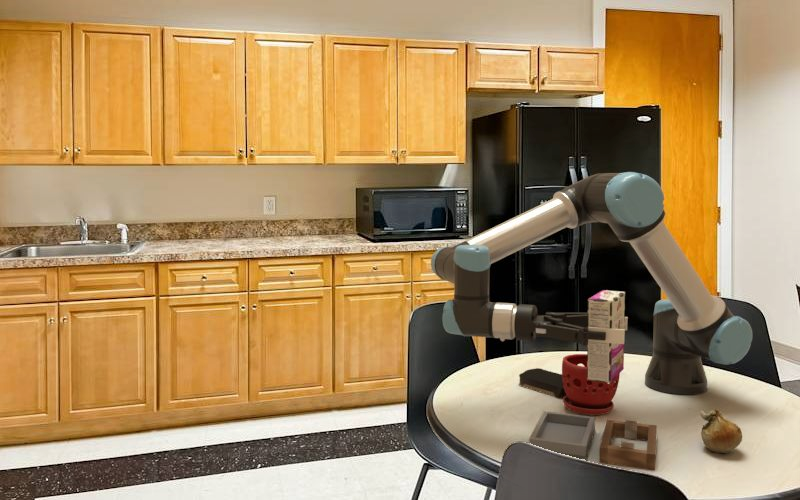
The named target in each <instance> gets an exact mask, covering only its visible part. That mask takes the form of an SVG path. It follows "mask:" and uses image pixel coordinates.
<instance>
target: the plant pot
mask: <svg viewBox="0 0 800 500" xmlns="http://www.w3.org/2000/svg"><path fill="white" fill-rule="evenodd" d="M561 363H562V364H561V374H562V380H563V387H564V390H565V393H566V395H567V396H565V397H564V398H562V403H563V404H564V406H565V407H566V408H567V409H569V411H571V412H574V413H577V414H579V415H584V416H597V415H598V416H600V415H605V414H608V413H610V412H611V411H612V410H613V408H614V406H615V405H614V402H613V401H612V400H613V399H614V397H615V395H616V393H617V390H618V387H619V382H620V373H621V372H620V373H619V374H618V375H617V377H616V378H615V379H614V380H613V381H612V382H611V383H605V382H598V381H591V380H587V353H575V354H568V355H566V356H563V358H562V362H561ZM580 364H582V365H583V366H582V365H580Z"/></svg>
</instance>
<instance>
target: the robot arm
mask: <svg viewBox="0 0 800 500" xmlns="http://www.w3.org/2000/svg"><path fill="white" fill-rule="evenodd" d="M552 197H553V198H551V199H550V200H548V201H545V202H544V203H541V204H540V205H537V206H535V207H533V208H531V209H529V210H527V211H524V212H523V213H520V214H519V215H518V214H517V215H516V216H514V217H512V218H509V219H508V220H506V221H504V222H502V223H500V224H497V225H495V226H494V227H492V228H489V229H487V230H484V231H483V232H481V233H478V234H477V235H475V236H472V237H470V238H468V239H466V240H464V241H463V242H460V243H458V244H457V243H456V244H455V245H453V246H445V247H440V248H438V249H437V250H436V251H435V252H434V253H433V255H432V256H431V259H430V266H431V270H432V272H433V273H434V275H436V276H437V277H438V278H439V279H441V281H442V280H443V281H447V282H449V283H452V284H453V287H454V291H453V292H454V294H453V298H452V299H448V300H447V301H446V302H445V303H444V306H443V310H442V311H443V312H442V326H443V329H444V330H445V332H446V333H448V334H451V335H458V336H463V337H476V338H477V337H479V338H492V339H499V340H500V341H501V342H505V341H506V340H514V339H515V338H516V340H517V341H524V342H534V341H535V340H536V338H547V339H552V340H559V341H563V342H568V343H569V342H570V343H575V344H579V345H580V344H581V345H582V346H586V347H587V345H588V339H589V341H590V342H602V343H615V344H624V345H625V340H626V339H625V337H626V336H625V332H626V331H628V319H629V317H628V316H625V320H624V321H625V322H624V329H612V328H599V327H589V331H588V312H553V311H551V312H550V311H547V312H545V315H543V314H542V315H541V314H538V307H537V306H536V305H535V304H525V303H524V304H522V303H520V304H518V305H517V304H516V303H512V302H511V303H510V302H492V301H490V277H491V276H490V275H491V265H492V264H494V263H496V262H498V261H500V260H502V259H504V258H506V257H508V256H510V255H512V254H515V253H516V252H518V251H520V250H523V249H525V248H526V247H529V246H530V245H532V244H534V243H536V242H539V241H541V240H543V239H545V238H548V237H550V236H552V235H553V234H555V233H557V232H559V231H561V230H563V229H566V228H569V229H575V228H577V227H579V226H582V225H585V224H589V223H591V224H592V223H600V224H601V223H603V224H608V226H609V227H610V229H611V230H612V231H613V233H614V234H615V236H616V237H617V238H618V240H619V241H621V242H624V243H625V242H626V243H629V244H630V246H631V247H632V248H633V249H634V251H635V253H636V254H637V256H638V257H639V259H640V260H641V262H642V263H643V264H644V266H645V267H646V269H647V270H648V272H649V273H650V275H651V276H652V278H653V280H655V282H656V284H657V285H658V286H659V287H660V289H661V291H662V292H663V294H664V296H665V297H666V298H667V299H660V300H658V301H656V302H655V304H654V310H653V313H652V314H653V334H652V335H653V339H652V340H653V341H652V342H653V343H652V356H651V358H650V359H651V360H650V361H649V364H648V367H647V369H646V372H645V375H644V384H645V385H646V386H647V387H648V388H650V389H653V390H655V391H658V392H662V393H668V394H674V395H675V394H676V395H699V394H703V393H705V392H707V390H708V379H707V378H708V377H707V375H706V371H705V369H704V365H703V362H702V358H704V359H706V360H709V361H711V362H712V363H715V364H721V365H726V366H727V365H734V364H736V363H738V362H740V361H741V360H742V359H743V358H745V356H747V353H748V352H749V350H750V348H751V345H752V342H753V329H752V326H751V325H750V323H749V321H748V320H746V319H744V318H742V317H741V316H740V315H739V316H738V315H734V314H733V313H732V312H731V310H730V309H729V307H728V306H727V304H726V302H725V301H724V300H723V299H722V298H720V297H718V296H713V295H712V294H711V293H710V291H709V289H708V288H707V286H706V285H705V282H703V280H702V279H701V277H700V276H699V274H698V272H697V271H696V270H695V268H694V267H693V265H692V263H691V262H690V261H689V259H688V258H687V256H686V255H685V253H684V252H683V249H682V248H681V247H680V245H679V243H678V242H677V241H676V239H675V238H674V237H673V234H672V233H671V232H670V230H669V229H668V227H667V226H666V224H665V222H664V221H665V218H666V211H665V209H664V207H665V204H664V201H665V196H664V192H663V190H662V187H661V186H660V184H659V183H658V182H657V180H655V179H654V178H652V177H650V176H649V175H647V174H645V173H644V174H643V173H639V172H635V171H627V172H626V171H625V172H614V173H613V172H603V173H600V172H599V173H596V174H592V175H590V176H587V177H585V178H583V179H581V180H579V181H577V182H575V183H572V184H570V185H568V186H567V187H565V188H562V189H561V190H558V191H556V192H555V193H554V194H553V196H552Z"/></svg>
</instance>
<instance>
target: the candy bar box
mask: <svg viewBox="0 0 800 500" xmlns="http://www.w3.org/2000/svg"><path fill="white" fill-rule="evenodd" d="M625 301H626V291H619V290H610V289H609V290H608V289H606V290H605V289H603V290H601V291H599V292H597V293H596V294H594V295H593V296H591V297H589V298H588V299H587V313H588V327H587V328H588V331H589V327H599V328H612V329H624V322H625V321H624V320H625V317H626V315H625V314H626V313H625V310H626V307H625V306H626V302H625ZM586 347H587V353H586V354H587V380H591V381H598V382H605V383H608V384H609V383H611V382H612V381H613V380H614V379H615V378H616V377H617V375H618V374H619V373H622V371H624V369H625V368H624V364H625V363H624V362H625V359H624V357H625V343H624V344H615V343H602V342H590V341H589V339H588V345H586Z"/></svg>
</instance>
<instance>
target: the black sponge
mask: <svg viewBox="0 0 800 500" xmlns="http://www.w3.org/2000/svg"><path fill="white" fill-rule="evenodd" d="M518 376H519V382H518V383H519V384H518V385H519V386H520V385H521V386H520V387H522V386H525V387H524V388H526V387H528V388H527V389H529V388H532V389H534V390H533V391H536V390H537V391H536V392H539V391H541V392H540V393H542V392H544V393H543V394H546V393H547V394H546V395H549V394H550V395H549V396H552V395H553V396H552V397H555V398H559V399H563V398H564V397H565V396H567V395H566V393H565V390H564V387H563V380H562V373H558V372H553V371H549V370H546V369H543V368H537V367H536V368H530V369H526V370H525V371H523V372H522V373H520V374H519V375H518ZM532 389H531V390H532Z"/></svg>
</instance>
